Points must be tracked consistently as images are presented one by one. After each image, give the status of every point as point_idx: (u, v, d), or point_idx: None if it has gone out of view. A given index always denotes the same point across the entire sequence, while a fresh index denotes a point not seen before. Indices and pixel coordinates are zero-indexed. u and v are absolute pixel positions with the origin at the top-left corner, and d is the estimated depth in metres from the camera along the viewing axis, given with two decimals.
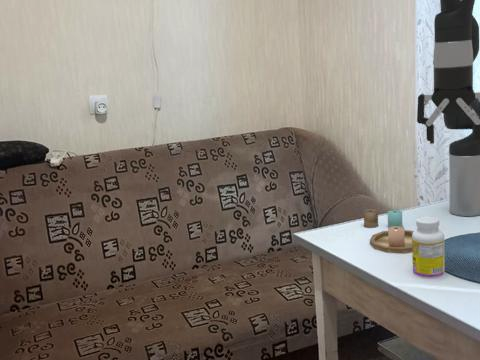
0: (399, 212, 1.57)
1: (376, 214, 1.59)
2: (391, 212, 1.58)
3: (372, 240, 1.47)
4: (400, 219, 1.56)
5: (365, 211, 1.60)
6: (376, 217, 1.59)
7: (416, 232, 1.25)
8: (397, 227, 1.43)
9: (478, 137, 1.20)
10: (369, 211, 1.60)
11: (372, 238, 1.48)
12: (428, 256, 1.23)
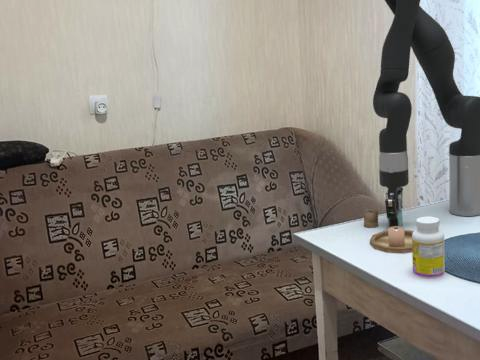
0: (399, 212, 1.57)
1: (376, 214, 1.59)
2: (391, 212, 1.58)
3: (372, 240, 1.47)
4: (400, 219, 1.56)
5: (365, 211, 1.60)
6: (376, 217, 1.59)
7: (416, 232, 1.25)
8: (397, 227, 1.43)
9: None
10: (369, 211, 1.60)
11: (372, 238, 1.48)
12: (428, 256, 1.23)
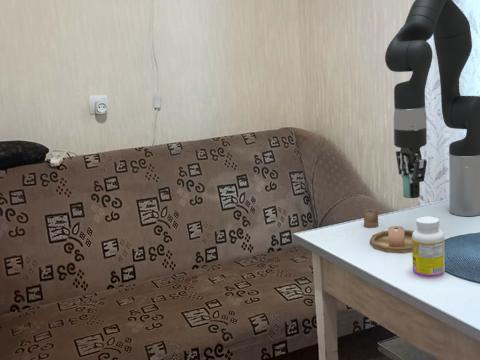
0: None
1: (376, 214, 1.59)
2: (408, 177, 1.42)
3: (372, 240, 1.47)
4: None
5: (365, 211, 1.60)
6: (376, 217, 1.59)
7: (416, 232, 1.25)
8: (397, 227, 1.43)
9: None
10: (369, 211, 1.60)
11: (372, 238, 1.48)
12: (428, 256, 1.23)
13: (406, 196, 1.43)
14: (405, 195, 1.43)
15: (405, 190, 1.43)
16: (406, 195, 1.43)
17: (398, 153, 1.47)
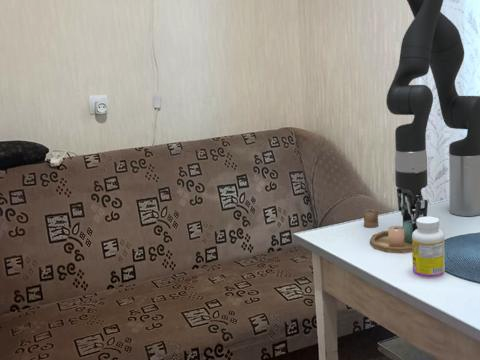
0: None
1: (376, 214, 1.59)
2: (409, 223, 1.45)
3: (372, 240, 1.47)
4: None
5: (365, 211, 1.60)
6: (376, 217, 1.59)
7: (416, 232, 1.25)
8: (397, 227, 1.43)
9: None
10: (369, 211, 1.60)
11: (372, 238, 1.48)
12: (428, 256, 1.23)
13: (407, 242, 1.45)
14: (406, 241, 1.46)
15: (406, 236, 1.45)
16: (407, 241, 1.45)
17: (399, 190, 1.49)
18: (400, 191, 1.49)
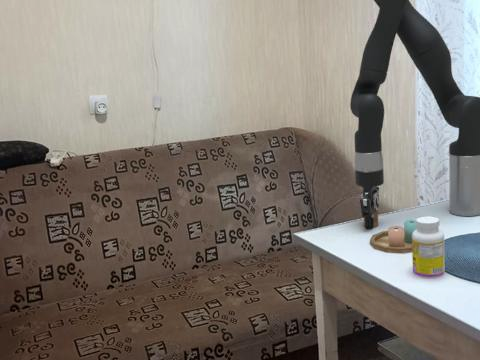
0: None
1: (376, 214, 1.59)
2: (409, 223, 1.45)
3: (372, 240, 1.47)
4: None
5: None
6: (376, 217, 1.59)
7: (416, 232, 1.25)
8: (397, 227, 1.43)
9: None
10: None
11: (372, 238, 1.48)
12: (428, 256, 1.23)
13: (407, 242, 1.45)
14: (406, 241, 1.46)
15: (406, 236, 1.45)
16: (407, 241, 1.45)
17: None
18: None
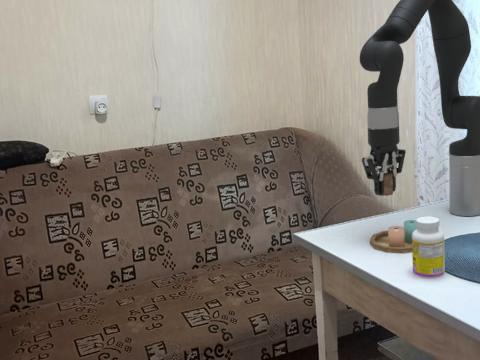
0: None
1: (388, 178, 1.44)
2: (409, 223, 1.45)
3: (372, 240, 1.47)
4: None
5: None
6: (387, 181, 1.44)
7: (416, 232, 1.25)
8: (397, 227, 1.43)
9: (394, 186, 1.47)
10: None
11: (372, 238, 1.48)
12: (428, 256, 1.23)
13: (407, 242, 1.45)
14: (406, 241, 1.46)
15: (406, 236, 1.45)
16: (407, 241, 1.45)
17: None
18: None
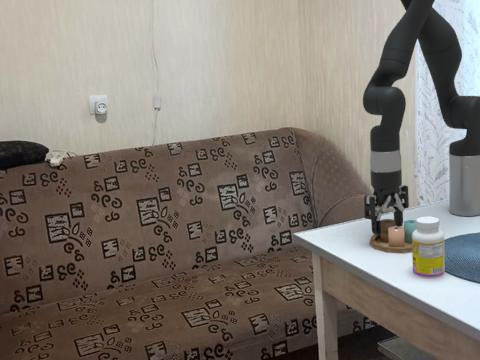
0: None
1: (390, 225, 1.46)
2: (409, 223, 1.45)
3: (372, 240, 1.47)
4: None
5: (382, 220, 1.49)
6: None
7: (416, 232, 1.25)
8: (397, 227, 1.43)
9: None
10: (385, 221, 1.48)
11: (372, 238, 1.48)
12: (428, 256, 1.23)
13: (407, 242, 1.45)
14: (406, 241, 1.46)
15: (406, 236, 1.45)
16: (407, 241, 1.45)
17: None
18: None
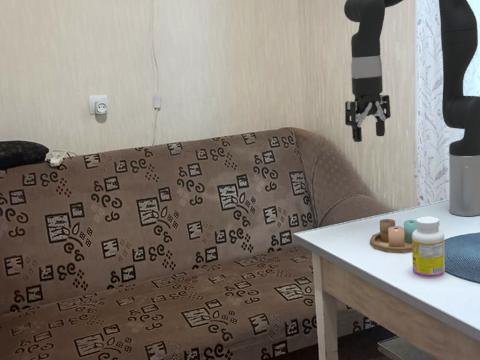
0: None
1: (390, 225, 1.46)
2: (409, 223, 1.45)
3: (372, 240, 1.47)
4: None
5: (382, 220, 1.49)
6: None
7: (416, 232, 1.25)
8: (397, 227, 1.43)
9: (383, 131, 1.52)
10: (385, 221, 1.48)
11: (372, 238, 1.48)
12: (428, 256, 1.23)
13: (407, 242, 1.45)
14: (406, 241, 1.46)
15: (406, 236, 1.45)
16: (407, 241, 1.45)
17: None
18: None
